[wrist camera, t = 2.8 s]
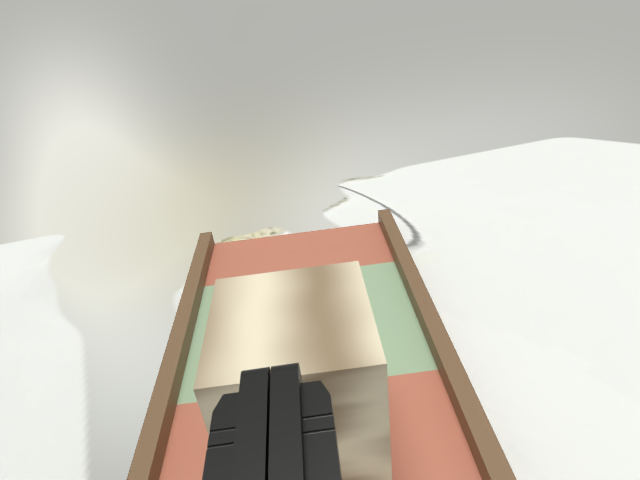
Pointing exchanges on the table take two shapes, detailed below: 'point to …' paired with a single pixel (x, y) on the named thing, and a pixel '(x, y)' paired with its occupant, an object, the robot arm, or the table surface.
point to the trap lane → (397, 342)
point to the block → (305, 351)
